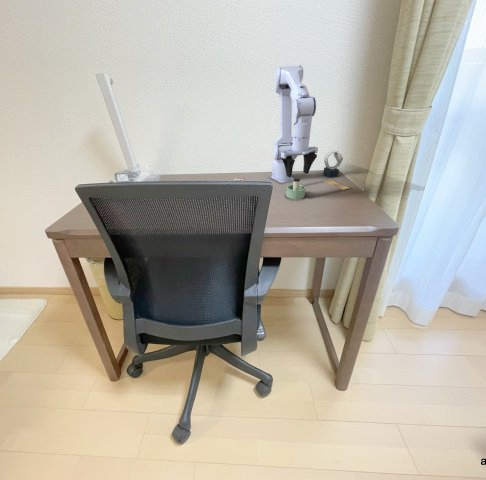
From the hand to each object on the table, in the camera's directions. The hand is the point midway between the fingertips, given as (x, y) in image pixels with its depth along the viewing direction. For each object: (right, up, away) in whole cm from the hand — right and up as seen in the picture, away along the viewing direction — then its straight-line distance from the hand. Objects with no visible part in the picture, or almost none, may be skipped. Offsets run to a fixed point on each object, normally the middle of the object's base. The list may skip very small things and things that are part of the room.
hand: (297, 174), depth 97 cm
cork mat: (+13, -3, +10) cm, 17 cm away
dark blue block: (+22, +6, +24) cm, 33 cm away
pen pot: (+1, -7, +5) cm, 9 cm away
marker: (0, -7, +4) cm, 8 cm away
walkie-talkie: (-20, -3, +14) cm, 24 cm away
